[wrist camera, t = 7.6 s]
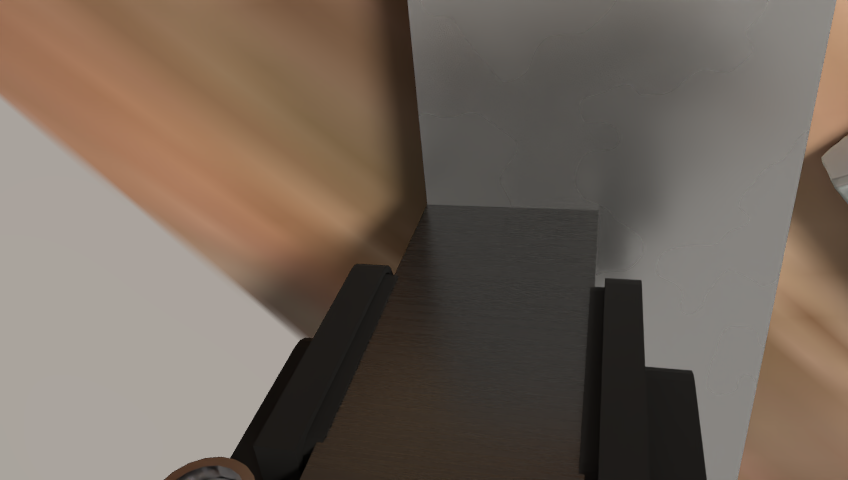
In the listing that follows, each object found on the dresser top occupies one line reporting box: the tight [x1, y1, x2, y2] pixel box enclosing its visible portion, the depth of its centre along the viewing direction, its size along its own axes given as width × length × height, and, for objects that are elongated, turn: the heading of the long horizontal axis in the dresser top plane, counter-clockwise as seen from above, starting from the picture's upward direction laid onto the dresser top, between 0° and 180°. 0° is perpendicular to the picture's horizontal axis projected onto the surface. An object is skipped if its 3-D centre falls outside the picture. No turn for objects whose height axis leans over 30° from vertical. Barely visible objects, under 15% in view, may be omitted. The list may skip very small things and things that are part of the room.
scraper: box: [300, 0, 836, 480], centre depth 10 cm, size 6×14×9 cm, turn 5°
